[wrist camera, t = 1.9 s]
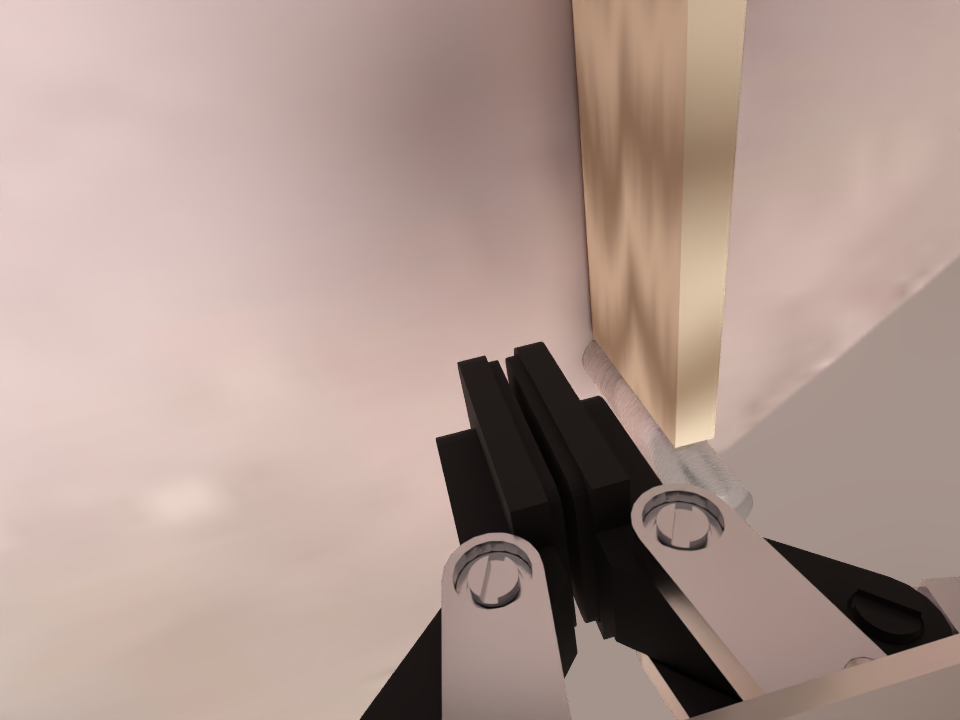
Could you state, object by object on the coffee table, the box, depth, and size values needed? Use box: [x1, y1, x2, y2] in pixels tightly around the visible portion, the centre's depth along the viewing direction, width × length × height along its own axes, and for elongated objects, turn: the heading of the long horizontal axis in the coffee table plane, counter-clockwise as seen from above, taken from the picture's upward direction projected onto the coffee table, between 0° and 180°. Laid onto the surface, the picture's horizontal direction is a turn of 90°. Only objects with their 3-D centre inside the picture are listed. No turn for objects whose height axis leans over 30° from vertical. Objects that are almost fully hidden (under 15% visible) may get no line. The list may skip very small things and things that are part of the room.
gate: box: [572, 0, 747, 448], centre depth 20 cm, size 20×2×8 cm, turn 9°
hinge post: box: [583, 340, 753, 520], centre depth 25 cm, size 2×2×11 cm
